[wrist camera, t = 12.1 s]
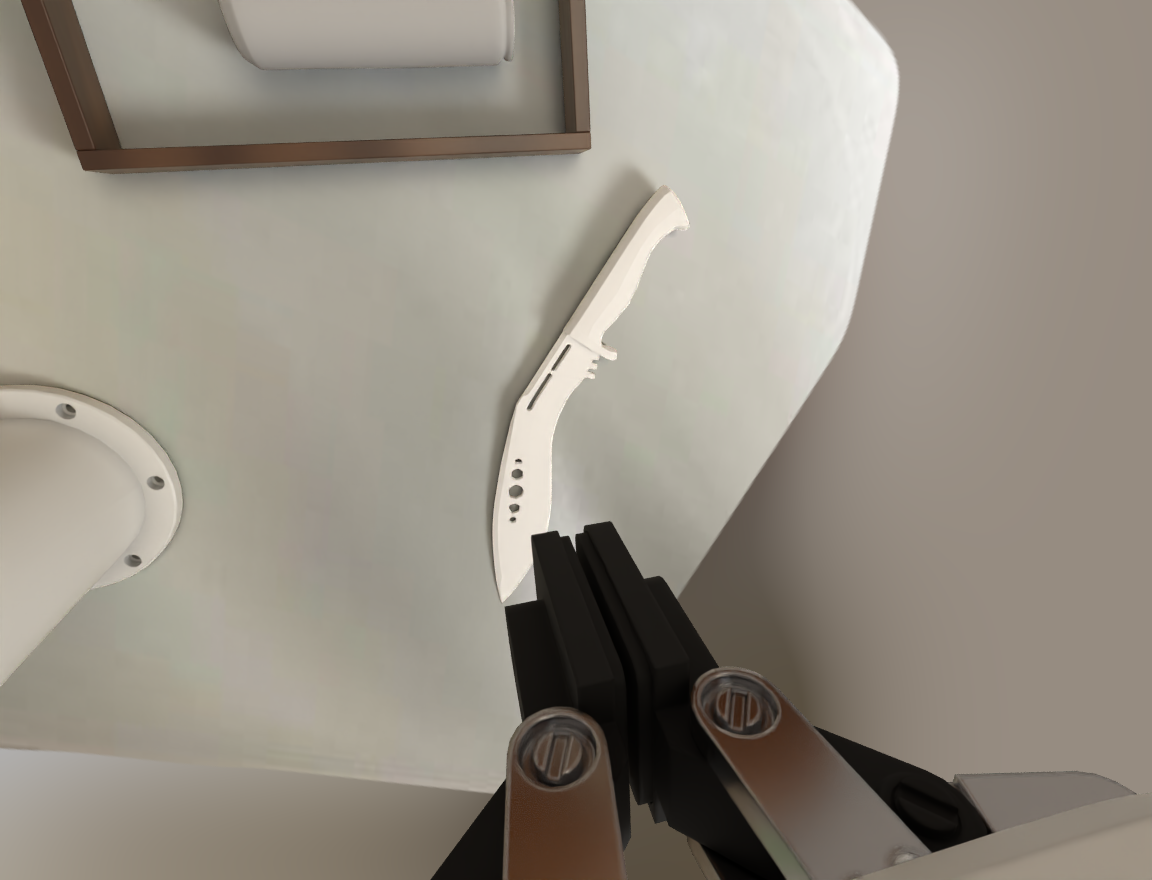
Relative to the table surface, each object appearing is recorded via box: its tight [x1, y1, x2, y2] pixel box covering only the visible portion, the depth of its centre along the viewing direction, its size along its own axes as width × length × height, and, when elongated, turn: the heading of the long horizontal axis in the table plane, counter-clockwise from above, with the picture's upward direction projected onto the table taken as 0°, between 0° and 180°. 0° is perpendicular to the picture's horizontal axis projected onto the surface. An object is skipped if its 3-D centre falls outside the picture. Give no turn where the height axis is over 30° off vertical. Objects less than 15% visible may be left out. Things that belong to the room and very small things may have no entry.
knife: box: [492, 185, 690, 603], centre depth 37 cm, size 30×2×8 cm
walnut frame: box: [21, 0, 591, 174], centre depth 26 cm, size 24×12×2 cm, turn 93°
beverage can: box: [218, 0, 515, 70], centre depth 25 cm, size 5×5×12 cm
